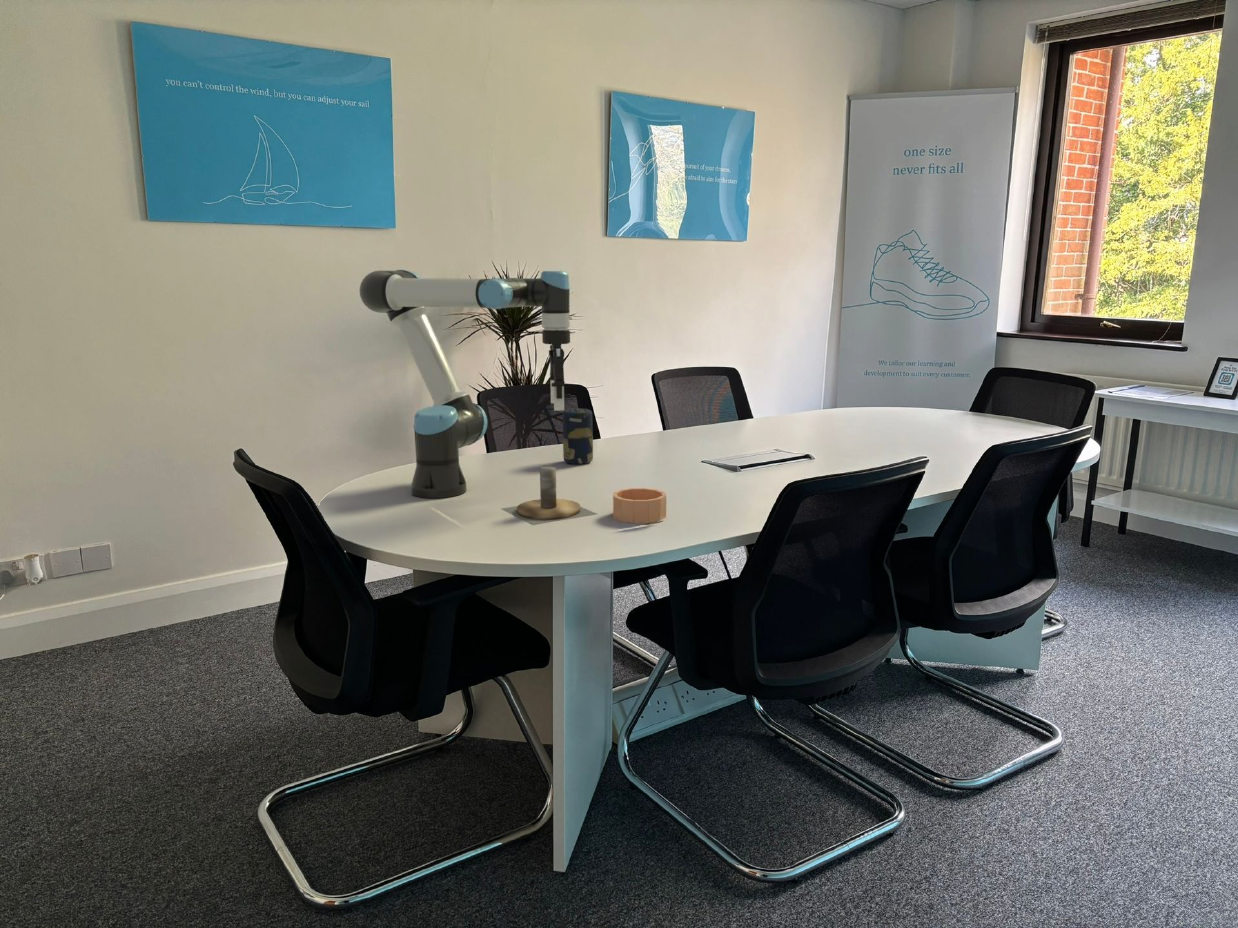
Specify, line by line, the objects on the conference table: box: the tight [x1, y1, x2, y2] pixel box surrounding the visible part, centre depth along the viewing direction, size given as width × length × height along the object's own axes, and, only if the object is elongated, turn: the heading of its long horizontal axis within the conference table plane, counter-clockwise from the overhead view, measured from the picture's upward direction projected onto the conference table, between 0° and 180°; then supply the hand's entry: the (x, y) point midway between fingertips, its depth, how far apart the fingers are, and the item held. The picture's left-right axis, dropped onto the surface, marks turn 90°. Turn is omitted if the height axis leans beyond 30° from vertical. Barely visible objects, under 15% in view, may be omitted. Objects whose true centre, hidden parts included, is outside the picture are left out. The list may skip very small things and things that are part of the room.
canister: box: [562, 406, 594, 465], centre depth 287 cm, size 10×10×18 cm
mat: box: [501, 505, 598, 526], centre depth 228 cm, size 18×18×1 cm
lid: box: [516, 465, 581, 520], centre depth 227 cm, size 16×16×11 cm
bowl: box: [612, 487, 667, 526], centre depth 223 cm, size 13×13×6 cm
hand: (557, 406), depth 249 cm, fingers open, 13 cm apart
